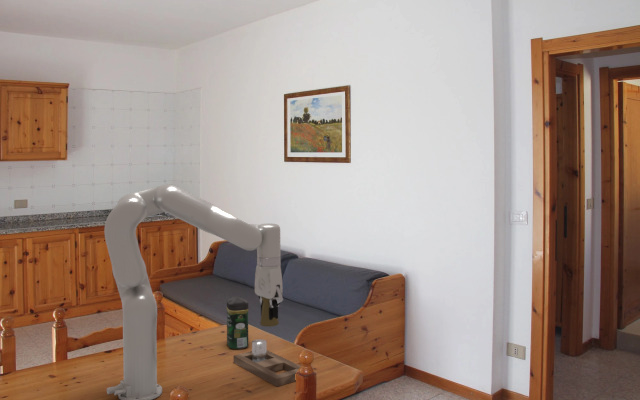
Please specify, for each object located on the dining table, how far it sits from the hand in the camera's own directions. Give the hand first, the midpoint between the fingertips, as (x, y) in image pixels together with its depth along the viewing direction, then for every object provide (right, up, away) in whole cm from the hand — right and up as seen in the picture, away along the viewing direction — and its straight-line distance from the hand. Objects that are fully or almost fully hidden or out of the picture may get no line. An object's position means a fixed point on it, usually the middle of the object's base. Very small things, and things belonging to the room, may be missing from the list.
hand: (269, 316), depth 178 cm
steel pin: (-5, -19, +12) cm, 23 cm away
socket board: (-1, -19, +7) cm, 21 cm away
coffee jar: (-15, -18, +32) cm, 39 cm away
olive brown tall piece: (0, -2, 0) cm, 2 cm away
